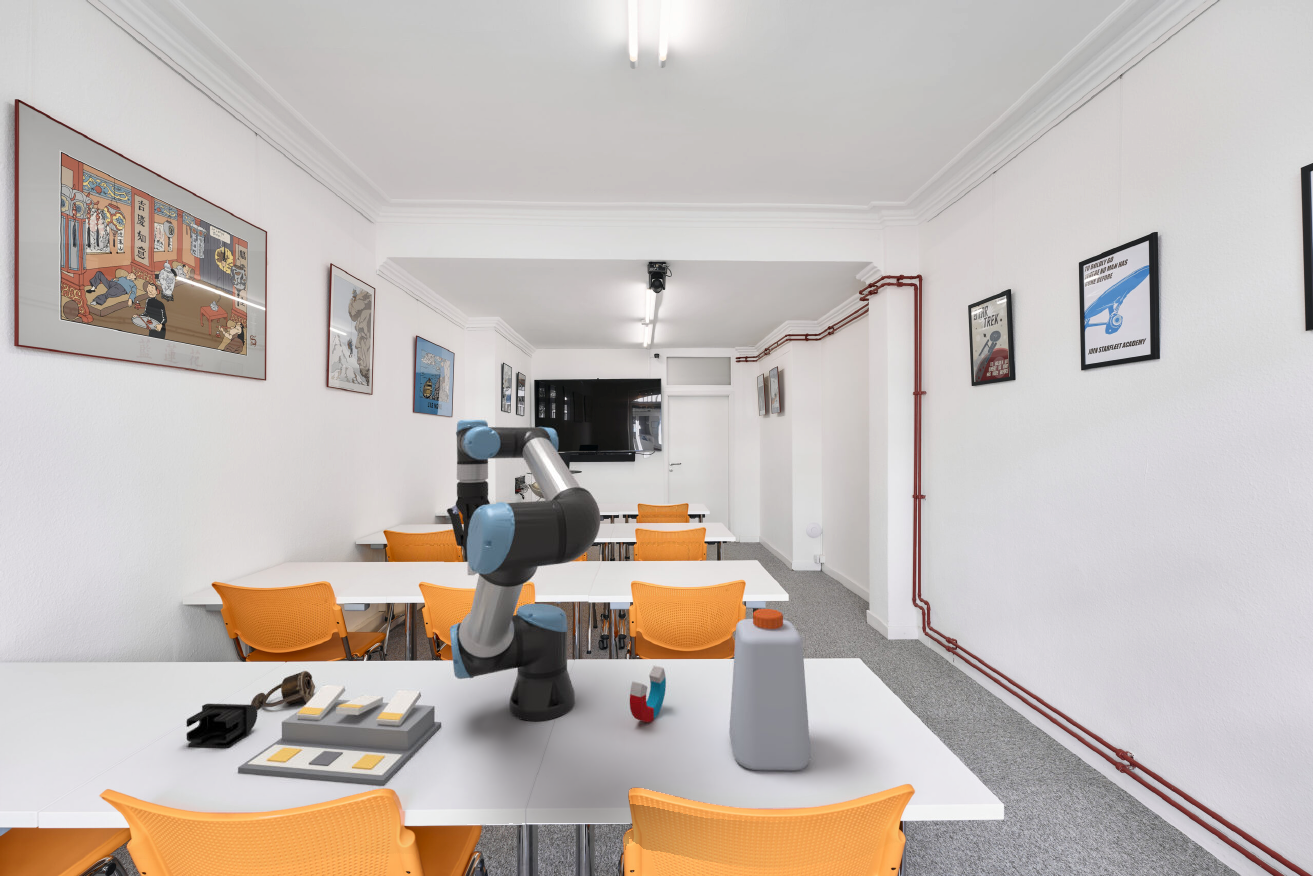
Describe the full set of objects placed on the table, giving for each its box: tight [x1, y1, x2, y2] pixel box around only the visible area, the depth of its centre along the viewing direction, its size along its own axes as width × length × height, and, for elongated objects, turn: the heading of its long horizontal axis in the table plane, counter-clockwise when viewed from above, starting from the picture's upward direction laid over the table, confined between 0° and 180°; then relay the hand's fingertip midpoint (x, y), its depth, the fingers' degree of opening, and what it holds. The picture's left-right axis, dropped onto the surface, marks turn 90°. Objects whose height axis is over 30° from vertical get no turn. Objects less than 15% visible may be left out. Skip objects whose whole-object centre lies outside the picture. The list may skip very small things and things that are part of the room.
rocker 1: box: [297, 684, 346, 720], centre depth 114 cm, size 5×8×1 cm, turn 173°
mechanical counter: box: [250, 670, 316, 710], centre depth 128 cm, size 7×13×10 cm
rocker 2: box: [376, 690, 422, 726], centre depth 112 cm, size 5×8×1 cm, turn 173°
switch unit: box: [237, 699, 442, 786], centre depth 109 cm, size 30×20×5 cm, turn 83°
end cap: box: [186, 703, 258, 749], centre depth 113 cm, size 10×7×7 cm
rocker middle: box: [336, 695, 384, 715], centre depth 113 cm, size 5×8×1 cm, turn 173°
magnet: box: [629, 665, 667, 723], centre depth 120 cm, size 12×3×10 cm, turn 150°
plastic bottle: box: [728, 608, 812, 772], centre depth 108 cm, size 15×15×28 cm
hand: (472, 573), depth 134 cm, fingers closed
